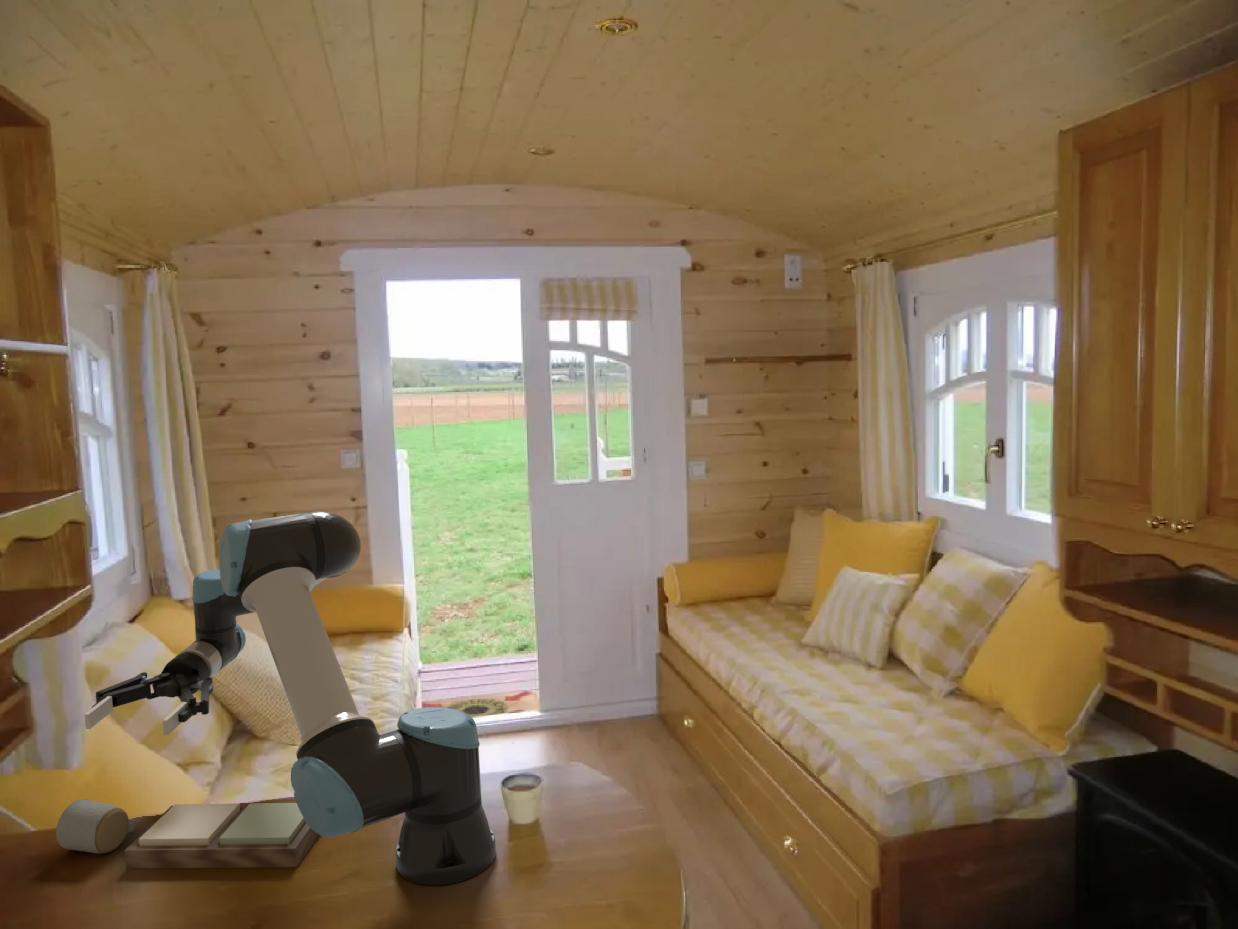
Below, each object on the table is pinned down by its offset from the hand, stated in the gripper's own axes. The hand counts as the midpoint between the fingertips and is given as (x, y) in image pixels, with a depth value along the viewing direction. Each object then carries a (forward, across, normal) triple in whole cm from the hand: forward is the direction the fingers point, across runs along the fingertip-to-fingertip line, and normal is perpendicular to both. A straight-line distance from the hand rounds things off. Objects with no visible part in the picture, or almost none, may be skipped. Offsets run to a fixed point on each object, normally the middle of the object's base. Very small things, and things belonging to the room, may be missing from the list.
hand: (125, 724), depth 157 cm
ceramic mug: (+8, 0, -17) cm, 19 cm away
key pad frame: (+8, -21, -15) cm, 27 cm away
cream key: (+8, -15, -14) cm, 22 cm away
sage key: (+8, -28, -13) cm, 32 cm away
